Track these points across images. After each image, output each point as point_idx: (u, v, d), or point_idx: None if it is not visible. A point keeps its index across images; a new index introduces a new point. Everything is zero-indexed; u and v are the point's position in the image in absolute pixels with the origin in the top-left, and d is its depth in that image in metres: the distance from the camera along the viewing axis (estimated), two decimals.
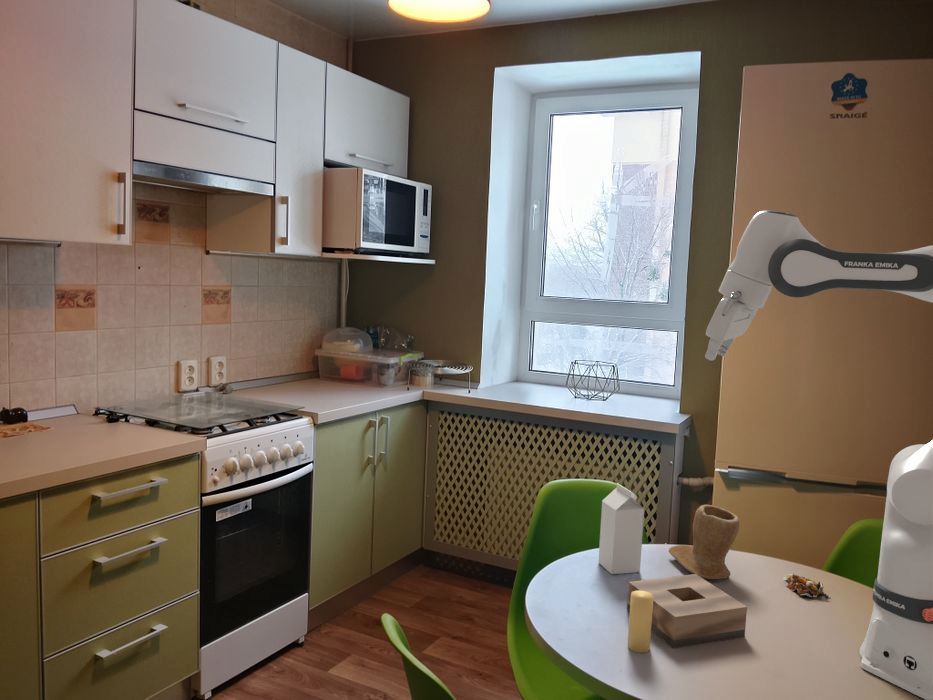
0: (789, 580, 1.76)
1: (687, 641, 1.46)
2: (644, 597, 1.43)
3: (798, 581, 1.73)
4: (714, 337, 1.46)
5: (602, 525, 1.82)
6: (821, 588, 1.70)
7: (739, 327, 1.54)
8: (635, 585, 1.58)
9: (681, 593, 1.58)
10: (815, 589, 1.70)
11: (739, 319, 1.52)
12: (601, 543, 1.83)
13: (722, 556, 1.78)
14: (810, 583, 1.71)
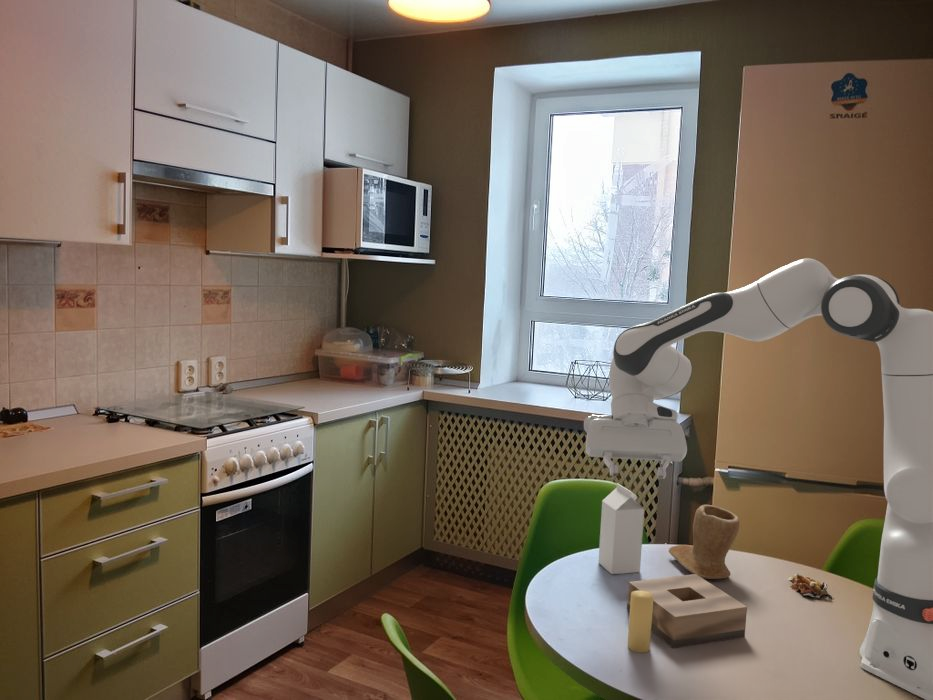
0: (793, 580, 1.76)
1: (687, 641, 1.46)
2: (644, 597, 1.43)
3: (802, 581, 1.73)
4: (588, 450, 1.61)
5: (602, 525, 1.82)
6: (824, 589, 1.70)
7: (642, 441, 1.60)
8: (635, 585, 1.58)
9: (681, 593, 1.58)
10: (818, 589, 1.70)
11: (631, 434, 1.62)
12: (601, 543, 1.83)
13: (722, 556, 1.78)
14: (814, 583, 1.71)
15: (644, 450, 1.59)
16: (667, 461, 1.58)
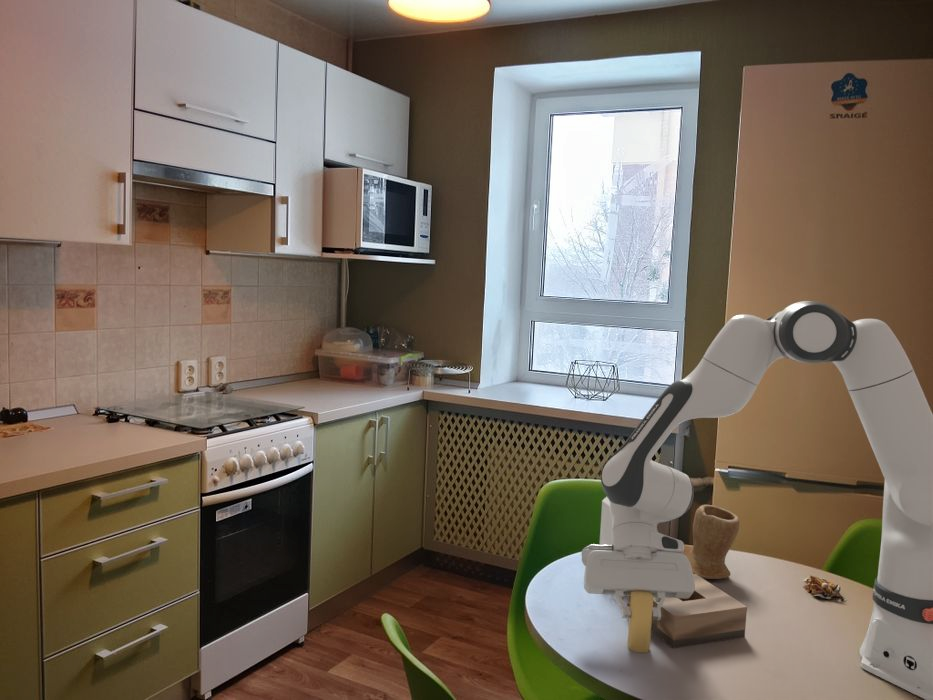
0: (807, 581, 1.76)
1: (687, 641, 1.46)
2: (644, 597, 1.43)
3: (814, 582, 1.73)
4: (586, 588, 1.47)
5: (602, 525, 1.82)
6: (836, 590, 1.69)
7: (645, 577, 1.47)
8: None
9: None
10: (829, 591, 1.70)
11: (633, 568, 1.48)
12: (601, 543, 1.83)
13: (722, 556, 1.78)
14: (825, 585, 1.71)
15: (648, 588, 1.45)
16: (662, 600, 1.45)
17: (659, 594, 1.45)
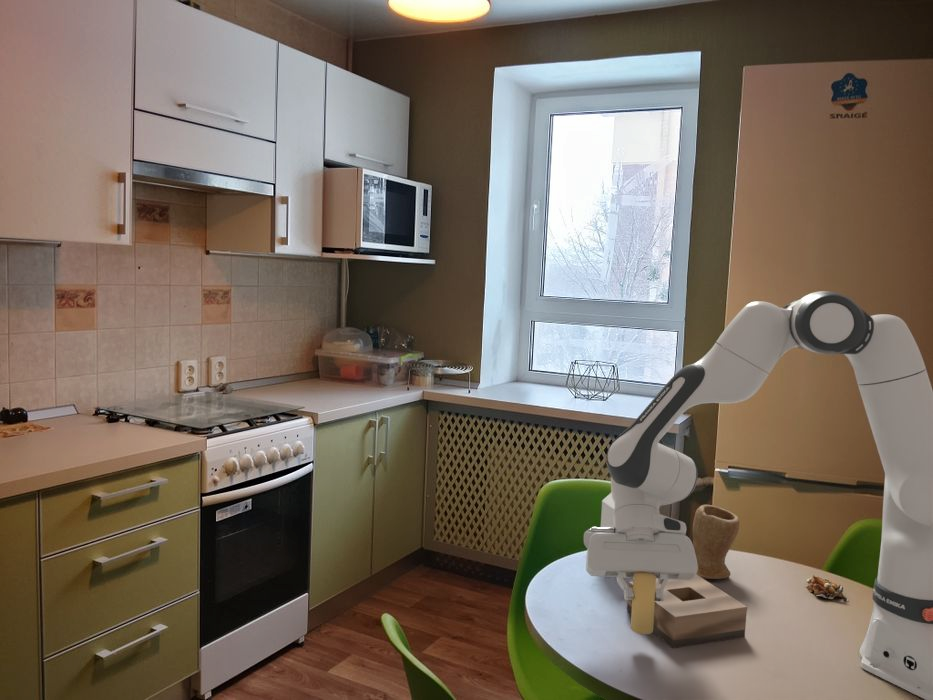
0: (810, 581, 1.76)
1: (687, 641, 1.46)
2: (647, 578, 1.42)
3: (817, 582, 1.73)
4: (589, 570, 1.47)
5: (602, 525, 1.82)
6: (839, 591, 1.69)
7: (648, 558, 1.46)
8: None
9: (681, 593, 1.58)
10: (832, 591, 1.69)
11: (636, 550, 1.47)
12: None
13: (722, 556, 1.78)
14: (828, 585, 1.71)
15: (650, 570, 1.45)
16: (665, 581, 1.44)
17: (662, 575, 1.45)
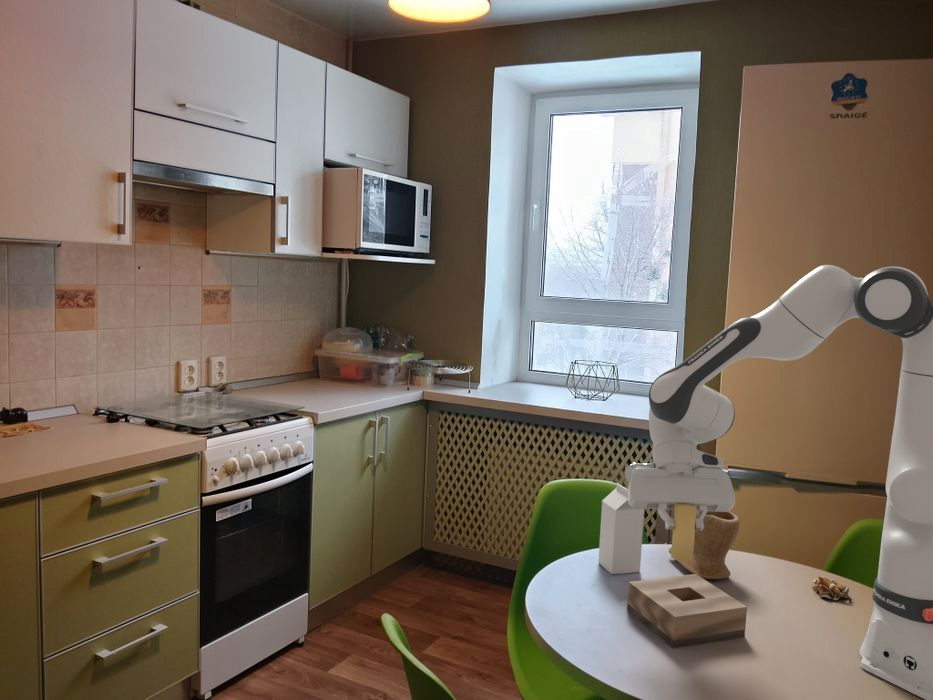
0: (816, 582, 1.76)
1: (687, 641, 1.46)
2: (687, 508, 1.49)
3: (823, 583, 1.73)
4: (631, 502, 1.53)
5: (602, 525, 1.82)
6: (843, 592, 1.69)
7: (688, 491, 1.53)
8: (635, 585, 1.58)
9: (681, 593, 1.58)
10: (837, 592, 1.69)
11: (676, 483, 1.54)
12: (601, 543, 1.83)
13: (722, 556, 1.78)
14: (833, 586, 1.70)
15: (690, 501, 1.52)
16: (704, 512, 1.51)
17: (701, 506, 1.52)
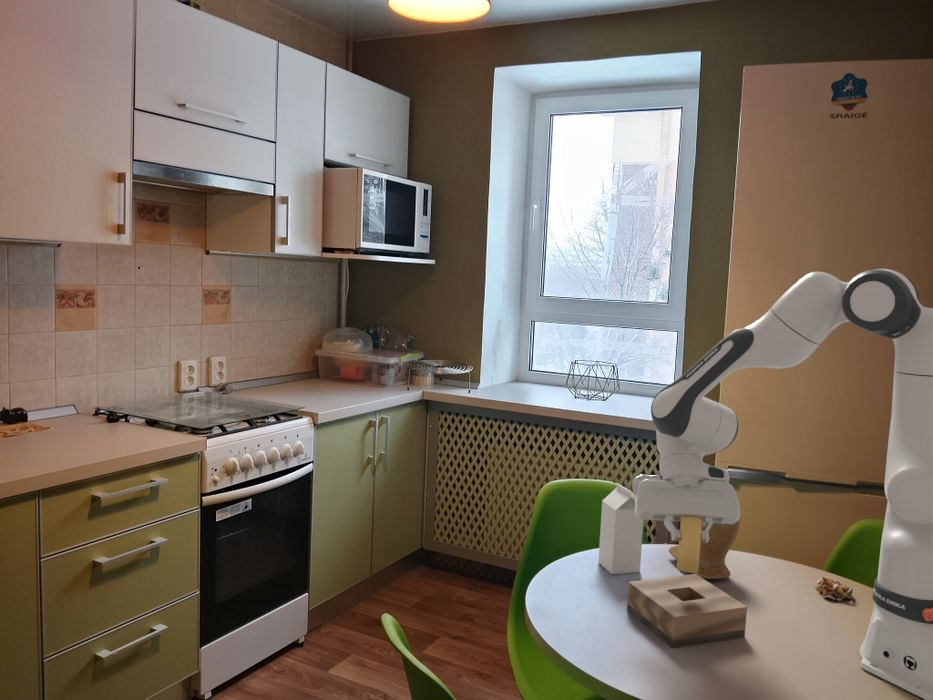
0: (820, 582, 1.75)
1: (687, 641, 1.46)
2: (693, 520, 1.52)
3: (826, 583, 1.73)
4: (638, 513, 1.56)
5: (602, 525, 1.82)
6: (847, 592, 1.68)
7: (694, 503, 1.56)
8: (635, 585, 1.58)
9: (681, 593, 1.58)
10: (840, 592, 1.69)
11: (682, 495, 1.57)
12: (601, 543, 1.83)
13: (722, 556, 1.78)
14: (836, 586, 1.70)
15: (696, 513, 1.55)
16: (710, 524, 1.54)
17: (707, 519, 1.55)
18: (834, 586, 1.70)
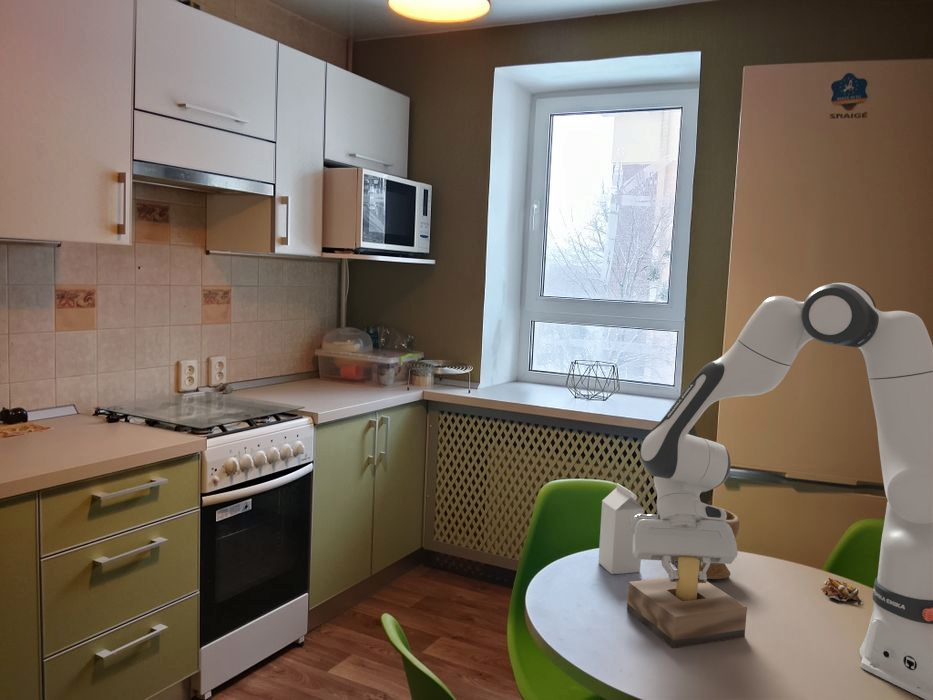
0: (826, 583, 1.75)
1: (687, 641, 1.46)
2: (691, 561, 1.53)
3: (832, 584, 1.72)
4: (635, 554, 1.57)
5: (602, 525, 1.82)
6: (852, 593, 1.68)
7: (691, 543, 1.57)
8: (635, 585, 1.58)
9: None
10: (845, 593, 1.69)
11: (679, 535, 1.58)
12: (601, 543, 1.83)
13: None
14: (842, 587, 1.70)
15: (694, 554, 1.55)
16: (707, 565, 1.55)
17: (704, 559, 1.55)
18: (839, 587, 1.70)
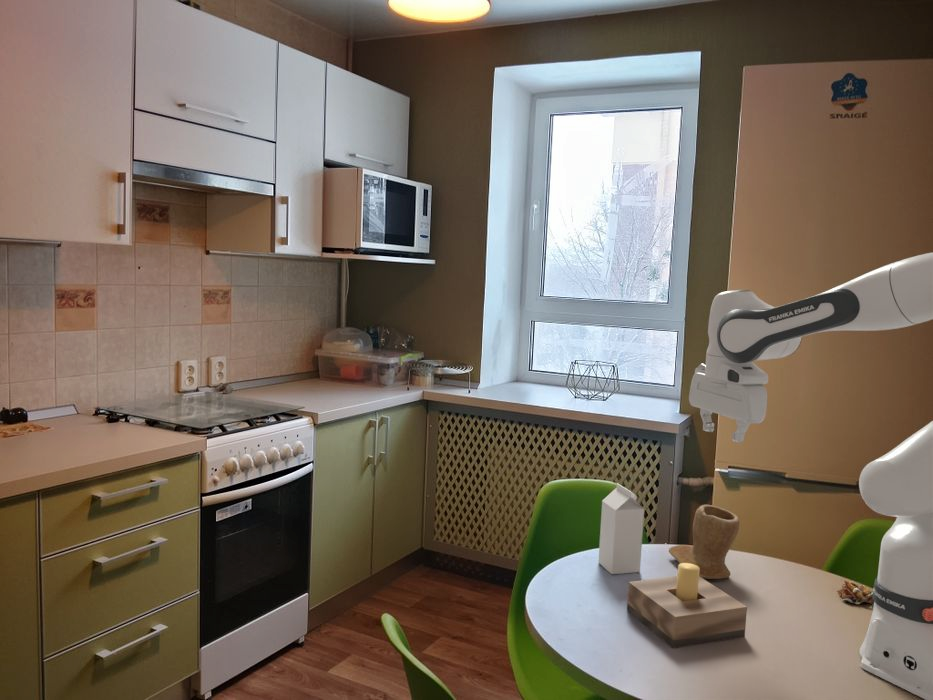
0: (842, 586, 1.74)
1: (687, 641, 1.46)
2: (691, 569, 1.53)
3: (847, 587, 1.71)
4: None
5: (602, 525, 1.82)
6: (866, 596, 1.67)
7: (721, 403, 1.60)
8: (635, 585, 1.58)
9: None
10: (859, 596, 1.67)
11: (716, 393, 1.62)
12: (601, 543, 1.83)
13: (722, 556, 1.78)
14: (856, 590, 1.68)
15: (721, 414, 1.60)
16: (738, 427, 1.57)
17: (737, 421, 1.57)
18: (854, 590, 1.69)
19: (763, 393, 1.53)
